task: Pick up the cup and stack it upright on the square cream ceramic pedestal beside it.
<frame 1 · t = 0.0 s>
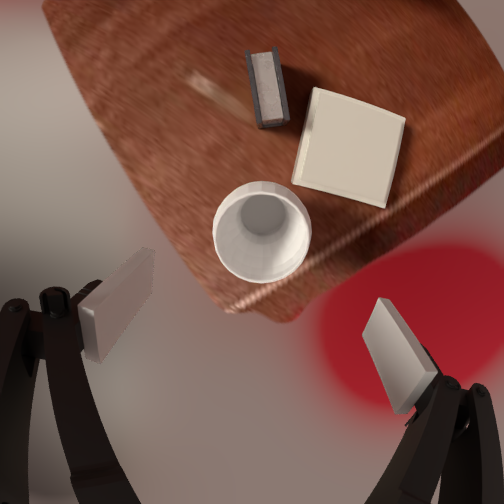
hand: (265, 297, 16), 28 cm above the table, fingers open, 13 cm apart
napkin holder: (267, 94, 36), on the table
pedestal: (346, 148, 38), on the table
cup: (263, 209, 42), on the table
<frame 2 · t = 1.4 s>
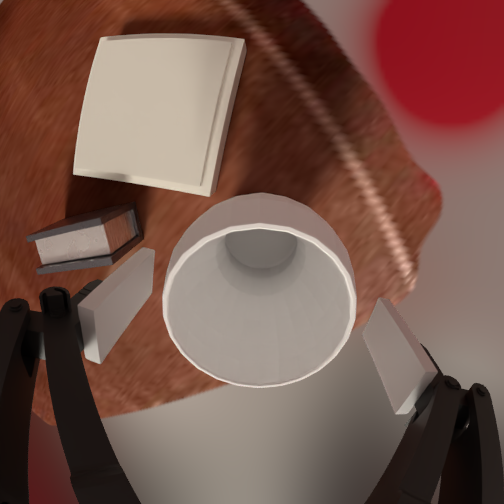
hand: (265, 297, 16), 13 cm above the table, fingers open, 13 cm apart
napkin holder: (100, 227, 28), on the table
pedestal: (159, 109, 24), on the table
cup: (261, 232, 28), on the table
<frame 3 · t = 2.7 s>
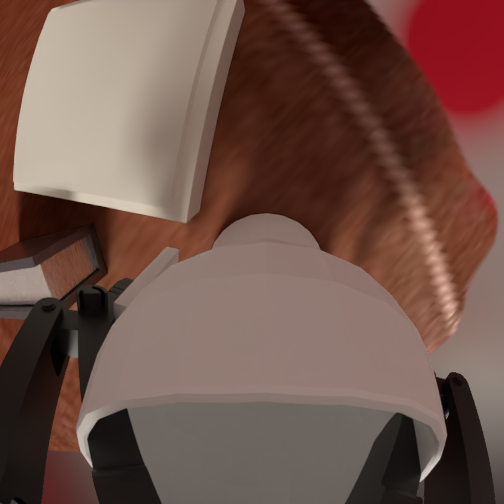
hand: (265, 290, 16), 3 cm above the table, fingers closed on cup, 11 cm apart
napkin holder: (57, 256, 20), on the table
pedestal: (121, 94, 15), on the table
cup: (265, 269, 19), on the table, touching gripper
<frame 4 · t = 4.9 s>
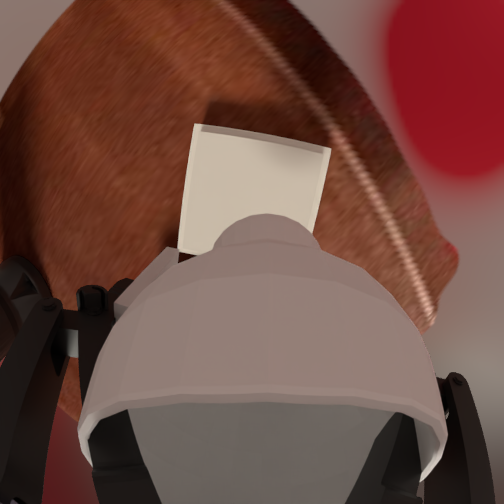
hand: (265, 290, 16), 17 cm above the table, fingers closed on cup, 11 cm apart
pedestal: (252, 196, 32), on the table
cup: (266, 269, 19), point 14 cm above the table, touching gripper
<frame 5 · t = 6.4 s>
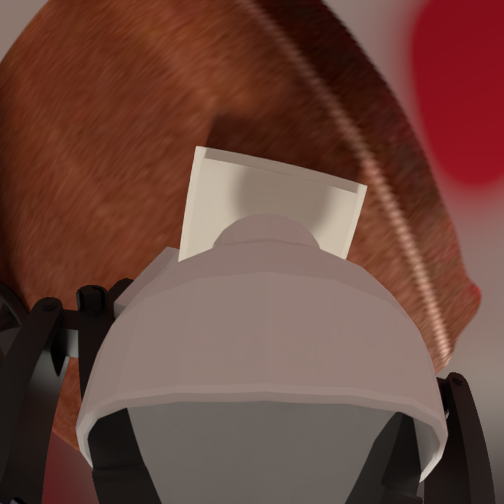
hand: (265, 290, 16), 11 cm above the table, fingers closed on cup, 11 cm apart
pedestal: (264, 236, 27), on the table
cup: (266, 268, 19), point 8 cm above the table, touching gripper
when the fingers open (8 cm above the table, at t = 7.5 s): cup drops 1 cm, resting on pedestal.
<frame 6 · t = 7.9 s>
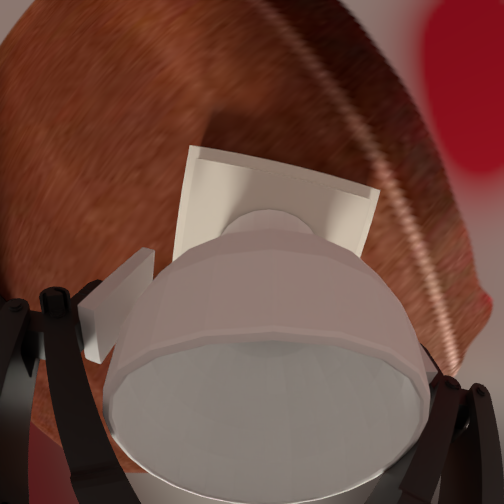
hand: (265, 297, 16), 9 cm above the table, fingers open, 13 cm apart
pedestal: (266, 244, 24), on the table
cup: (268, 261, 21), point 4 cm above the table, touching pedestal
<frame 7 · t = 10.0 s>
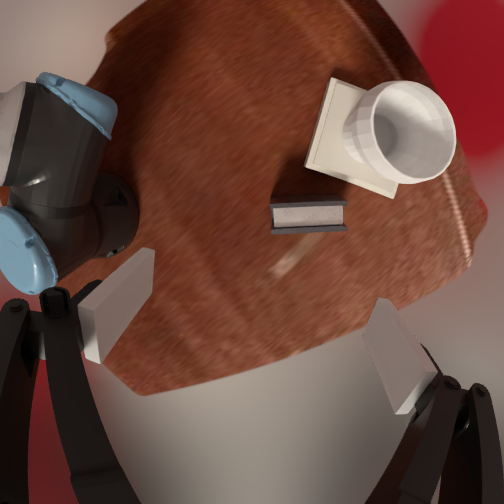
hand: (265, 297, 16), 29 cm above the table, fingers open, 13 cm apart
napkin holder: (304, 207, 43), on the table
pedestal: (359, 138, 38), on the table
cup: (367, 137, 35), point 4 cm above the table, touching pedestal
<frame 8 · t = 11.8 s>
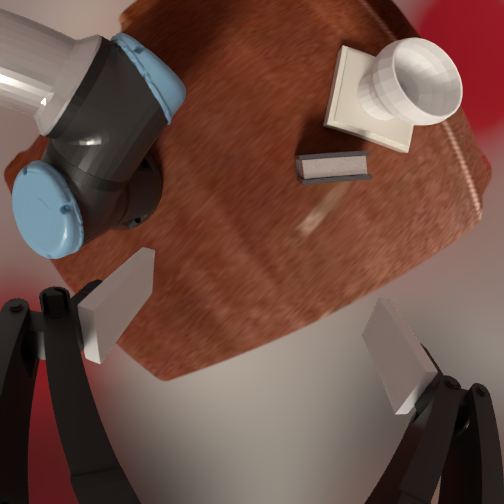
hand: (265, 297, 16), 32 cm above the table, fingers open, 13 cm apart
napkin holder: (326, 164, 43), on the table
pedestal: (371, 100, 39), on the table
cup: (380, 96, 35), point 4 cm above the table, touching pedestal
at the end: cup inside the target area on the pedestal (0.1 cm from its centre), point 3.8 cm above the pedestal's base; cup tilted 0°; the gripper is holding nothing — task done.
